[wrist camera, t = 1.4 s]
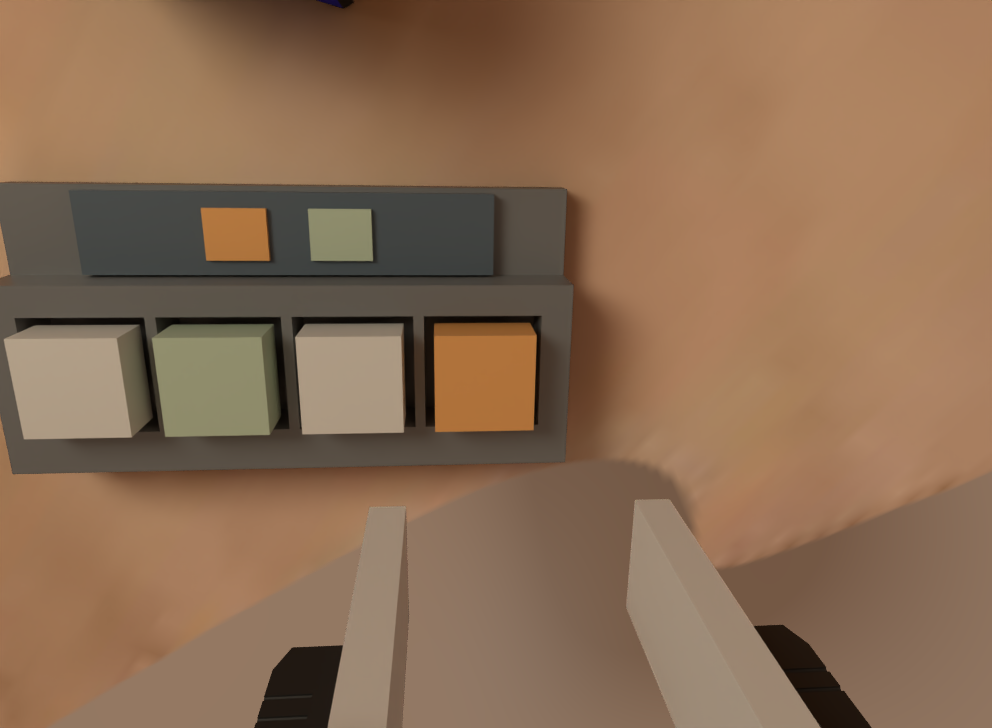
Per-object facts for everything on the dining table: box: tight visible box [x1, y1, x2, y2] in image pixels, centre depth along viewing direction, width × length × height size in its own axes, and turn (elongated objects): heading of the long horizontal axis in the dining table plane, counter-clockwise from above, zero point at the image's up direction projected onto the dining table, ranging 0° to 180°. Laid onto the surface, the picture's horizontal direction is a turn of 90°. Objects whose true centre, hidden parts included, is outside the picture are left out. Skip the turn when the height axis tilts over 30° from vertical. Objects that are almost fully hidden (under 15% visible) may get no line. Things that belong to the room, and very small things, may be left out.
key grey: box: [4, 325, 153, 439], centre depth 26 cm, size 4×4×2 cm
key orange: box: [434, 323, 537, 432], centre depth 27 cm, size 4×4×2 cm
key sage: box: [152, 324, 281, 437], centre depth 26 cm, size 4×4×2 cm
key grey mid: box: [295, 323, 406, 434], centre depth 27 cm, size 4×4×2 cm
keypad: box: [0, 182, 574, 474], centre depth 28 cm, size 22×11×4 cm, turn 89°
